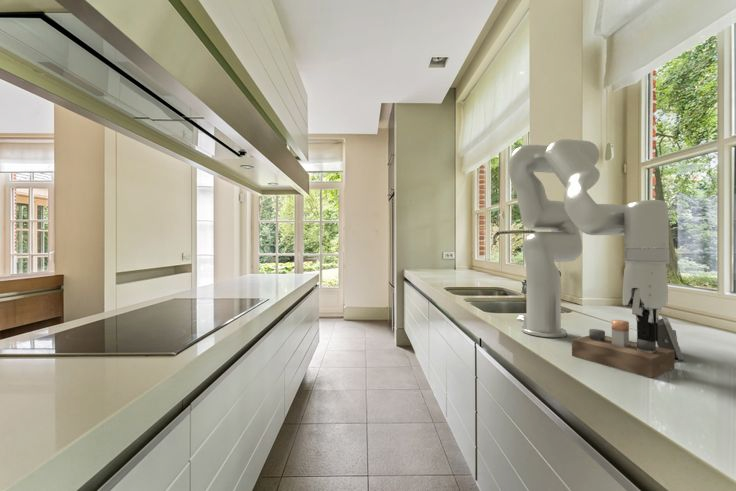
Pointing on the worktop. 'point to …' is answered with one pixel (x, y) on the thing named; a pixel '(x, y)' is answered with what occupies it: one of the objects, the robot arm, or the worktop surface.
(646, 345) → the plug right
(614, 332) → the plug middle
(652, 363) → the wooden socket board
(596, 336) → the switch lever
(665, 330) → the electrical switch
